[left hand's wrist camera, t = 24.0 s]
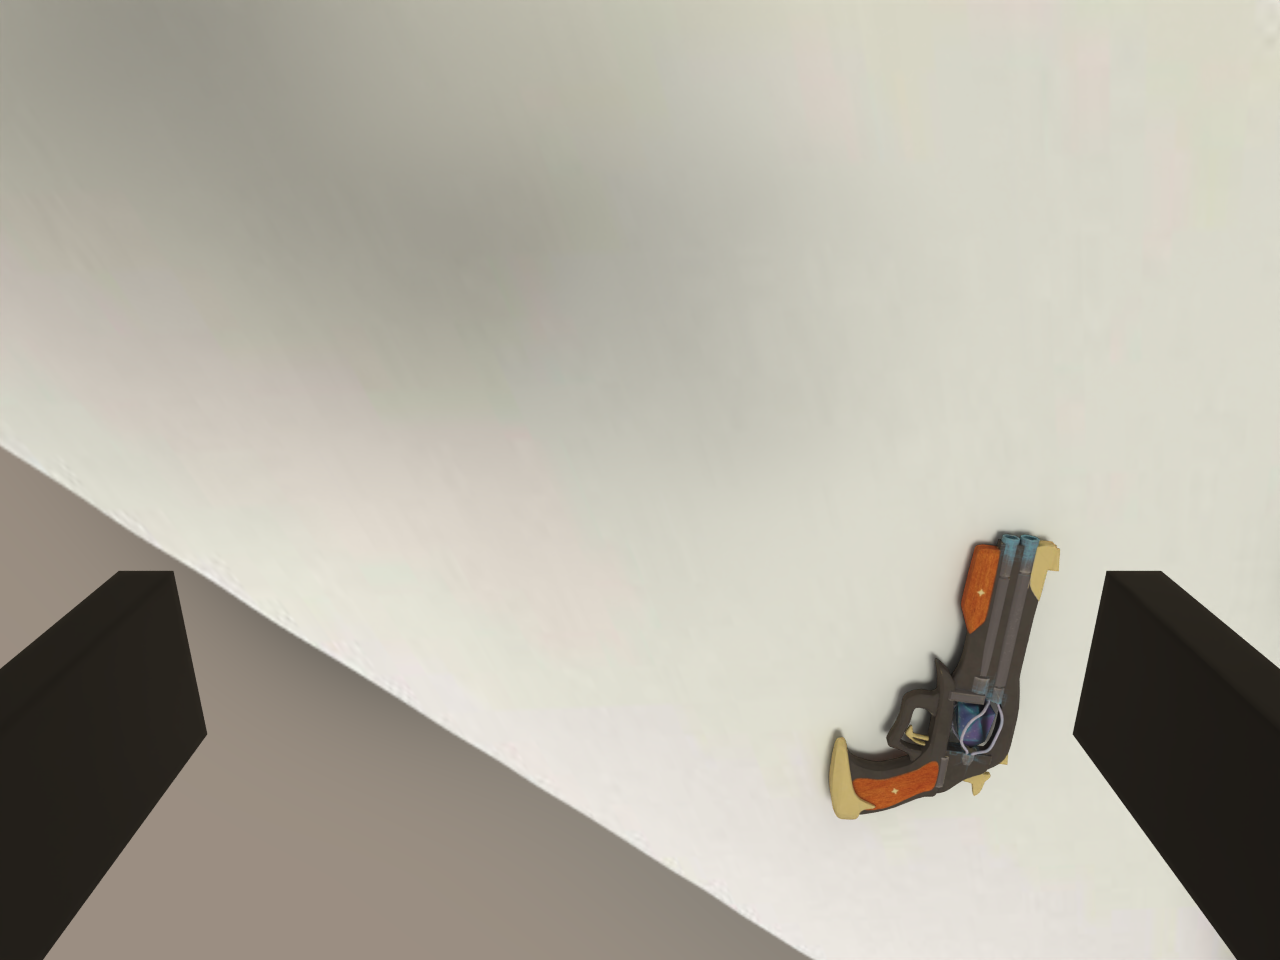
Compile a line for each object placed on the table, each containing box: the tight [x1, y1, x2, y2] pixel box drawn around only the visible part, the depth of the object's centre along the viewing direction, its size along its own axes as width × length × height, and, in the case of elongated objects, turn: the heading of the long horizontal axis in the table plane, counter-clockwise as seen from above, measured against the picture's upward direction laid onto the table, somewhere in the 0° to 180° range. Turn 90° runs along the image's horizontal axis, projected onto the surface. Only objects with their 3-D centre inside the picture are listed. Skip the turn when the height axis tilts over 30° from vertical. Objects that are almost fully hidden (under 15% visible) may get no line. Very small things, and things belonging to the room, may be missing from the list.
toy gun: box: [829, 534, 1060, 819], centre depth 51 cm, size 3×19×10 cm
